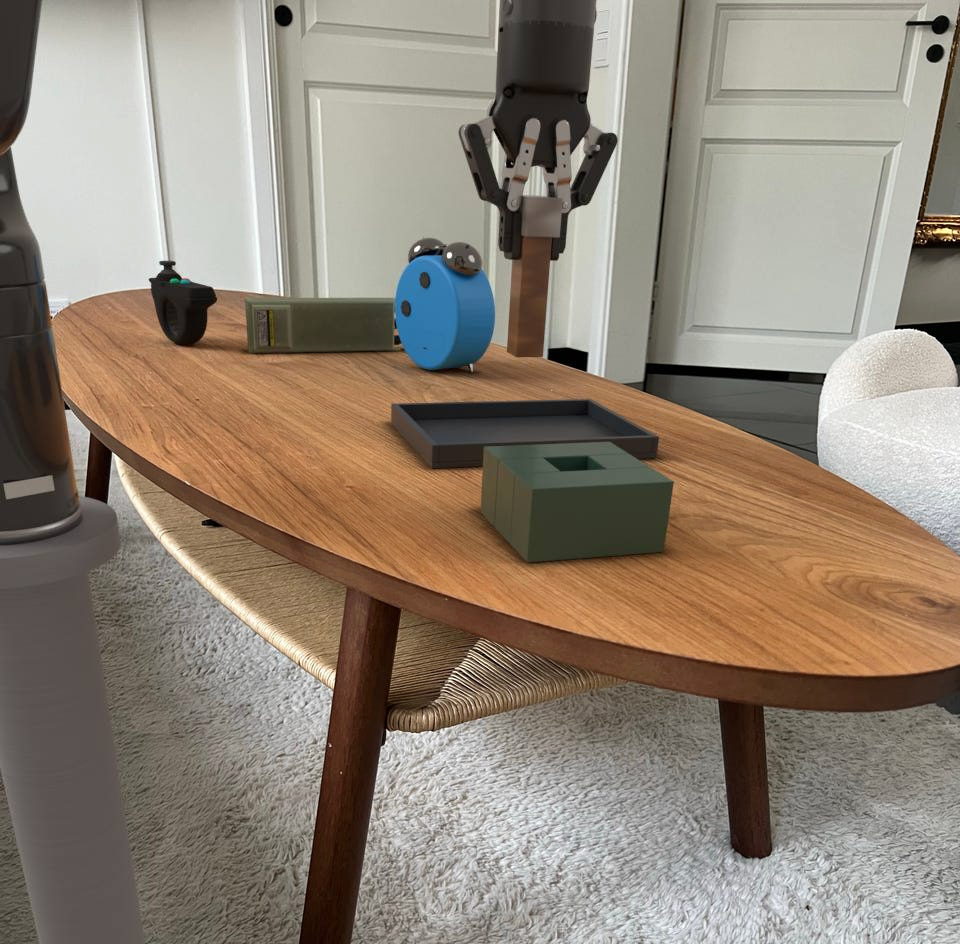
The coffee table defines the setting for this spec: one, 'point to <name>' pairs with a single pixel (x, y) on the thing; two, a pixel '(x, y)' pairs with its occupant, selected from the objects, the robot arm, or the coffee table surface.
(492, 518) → the holder
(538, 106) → the robot arm
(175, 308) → the controller
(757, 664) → the coffee table surface
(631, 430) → the tray
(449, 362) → the alarm clock
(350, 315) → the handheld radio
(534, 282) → the brown and grey block
